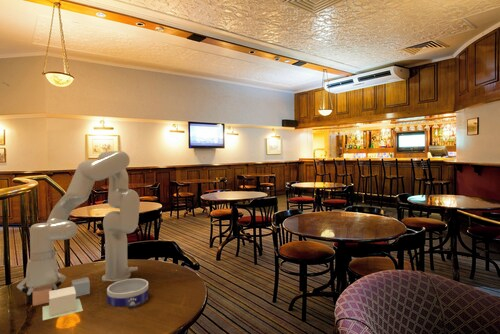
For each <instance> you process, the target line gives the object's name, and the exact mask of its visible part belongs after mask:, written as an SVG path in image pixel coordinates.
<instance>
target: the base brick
mask: <svg viewBox="0 0 500 334" xmlns="http://www.w3.org/2000/svg"><path fill="white" fill-rule="evenodd" d="M76 299H77V296H76V292H75V288H74V286H73V287H72V286H68V287H63V288H59V289H58V288H57V289H56V290H52V291H49V303H48V305H49V314H50V316H53V315H57V314H61V313H65V312H70V311H74V310H76Z"/></svg>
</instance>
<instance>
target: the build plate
mask: <svg viewBox="0 0 500 334" xmlns="http://www.w3.org/2000/svg"><path fill="white" fill-rule="evenodd" d="M83 311H84V309H83V307H82V302H81V300H80V298H76V310H74V311H70V312H65V313H61V314H57V315H53V316H50V314H49V304H48V305H44V306H42V321H46V320H51V319H54V318H59V317H63V316H67V315H71V314H75V313H79V312H83Z"/></svg>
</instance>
